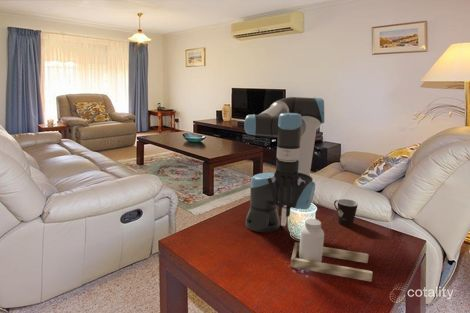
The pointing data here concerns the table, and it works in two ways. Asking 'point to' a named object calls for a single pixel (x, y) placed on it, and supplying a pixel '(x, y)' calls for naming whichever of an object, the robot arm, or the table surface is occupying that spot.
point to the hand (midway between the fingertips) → (283, 224)
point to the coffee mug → (346, 211)
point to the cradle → (332, 268)
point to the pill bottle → (311, 241)
